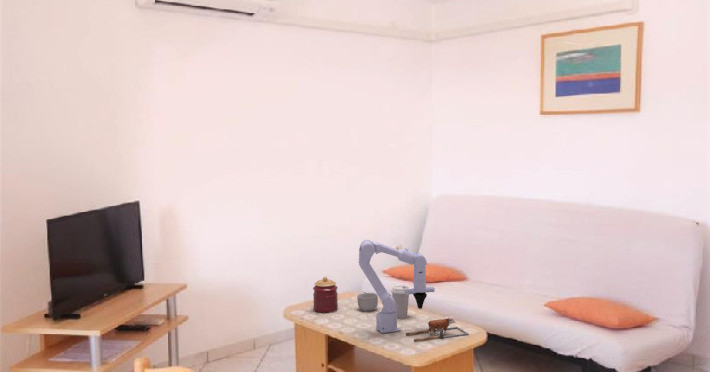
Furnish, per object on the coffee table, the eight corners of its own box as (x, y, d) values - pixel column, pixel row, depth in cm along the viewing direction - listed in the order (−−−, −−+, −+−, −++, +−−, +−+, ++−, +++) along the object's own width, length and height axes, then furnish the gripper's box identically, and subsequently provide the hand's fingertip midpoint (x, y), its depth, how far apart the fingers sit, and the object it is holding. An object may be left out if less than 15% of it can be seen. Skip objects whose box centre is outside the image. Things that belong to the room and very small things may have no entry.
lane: (443, 338, 277) (443, 337, 277) (432, 331, 288) (432, 329, 287) (468, 334, 281) (468, 333, 281) (457, 327, 292) (457, 326, 292)
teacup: (378, 312, 318) (377, 297, 318) (357, 312, 319) (356, 297, 318) (377, 305, 332) (377, 290, 332) (357, 305, 332) (357, 290, 332)
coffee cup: (407, 320, 305) (407, 290, 304) (389, 318, 308) (388, 289, 307) (412, 314, 314) (412, 285, 313) (394, 313, 317) (393, 284, 316)
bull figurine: (456, 334, 283) (456, 316, 282) (429, 337, 279) (429, 319, 278) (452, 331, 287) (452, 314, 286) (425, 334, 283) (425, 317, 282)
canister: (333, 314, 317) (332, 280, 316) (309, 312, 321) (309, 279, 319) (341, 307, 330) (340, 274, 328) (318, 305, 333) (317, 273, 332)
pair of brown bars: (415, 342, 272) (415, 333, 272) (404, 334, 284) (404, 325, 283) (443, 338, 277) (443, 330, 276) (431, 330, 288) (431, 322, 288)
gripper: (408, 283, 283) (409, 312, 285) (437, 280, 288) (437, 308, 289) (402, 279, 290) (403, 308, 291) (430, 277, 295) (431, 304, 296)
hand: (419, 308), depth 291 cm, fingers closed
